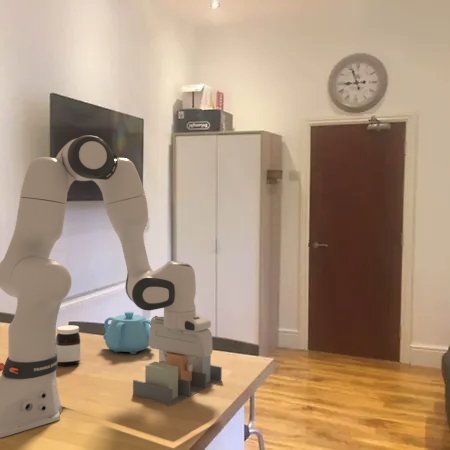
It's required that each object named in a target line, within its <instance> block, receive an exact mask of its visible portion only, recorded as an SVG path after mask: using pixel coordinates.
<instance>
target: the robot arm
mask: <svg viewBox="0 0 450 450" xmlns="http://www.w3.org/2000/svg"><path fill="white" fill-rule="evenodd" d="M87 181H88V182H89V181H92V182H94V183H95V184H96V185H97V186H98V188H99V189H100V192H101V194H102V199H103V203H104V207H105V210H106V213H107V216H108V219H109V221H110V224H111V226H112V228H113V230H114V232H115V234H116V235H117V237H118V238H119V241H120V244H121V247H122V252H123V255H124V260H125V264H126V265H125V266H126V269H127V271H126V272H127V274H126V281H125V288H124V289H125V294H126V295H127V297H128V298H129V300H131V302H132V303H134V305H135V306H136V307H138V308H139V309H141V310H143V311H154V310H160V309H163V316H159V315H154V316H153V317H152V318H151V319H150V321H151V326H150V332H149V342H148V343H149V346H148V347H150V349H154V350H158V351H159V350H163V355H164V357H165V359H166V361H165V364H167V353H170V352H173V353H178V354H183V355H188V359H189V361H188V363H187V364H185V371H192V364H193V363H194V361H195V359H196V357H197V358H202V359H204V358H207V357H209V356H210V355H211V356H212V354H213V335H212V332H211V330H210V328H211V325H212V322H211V320H210V319H209V318H207V317H205V316H203V315H201V314H200V313H198V312H196V304H195V297H196V295H197V294H196V293H197V292H196V291H197V290H196V289H197V286H196V285H197V283H196V274H195V269H194V268H193V267H192V265H190V264H188V263H185V262H182V261H176V260H170V261H167V262H166V263H165V264H164V265H163V266H161V267H159V268H157V269H155V270H153V269H152V268H151V265H150V263H149V258H148V254H147V249H146V246H145V245H146V244H145V241H144V232H145V230H146V226H147V223H148V221H149V208H148V201H147V197H146V196H147V195H146V193H145V190H144V189H145V188H144V186H143V183H142V180H141V178H140V174H139V172H138V170H137V168H136V166H135V164H134V162H133V161H131V160H130V159H128V158H125V157H118V156H117V155H116V153H114V151H113V150H111V148H110V147H109V145H108V144H107V142H105V141H104V140H103V139H102V138H100V137H98V136H96V135H95V136H94V135H87V134H86V135H81V136H79V137H77V138H76V137H75V138H74V139H71V140H70V141H68V142H67V143H66V144H65V145H64V146H62V147H61V148H60V149H59V151H58V152H57V153H56V154H55V155H54V157H50V156H42V157H37V158H34V159H32V160H31V162H30V163H29V164H28V167H27V170H26V172H25V175H24V178H23V181H22V186H21V191H20V197H19V203H18V208H17V209H18V210H17V215H16V222H15V226H14V227H15V228H14V230H13V234H12V237H11V239H10V242H9V245H8V247H7V249H6V253H5V254H4V257H3V259H2V260H1V261H0V289H1V290H2V291H3V292H4V293H5V294H7V295H8V296H11V297H14V298H15V299H16V298H17V299H16V300H17V303H16V310H15V313H14V315H13V316H14V317H13V319H12V321H11V322H10V323H9V325H8V330H7V331H8V334H7V335H8V339H7V340H8V341H7V343H8V351H7V352H8V356H7V357H6V361H5V363H3V362H0V372H1V375H0V439H1V438H4V437H8V436H11V435H15V434H17V433H20V432H21V433H22V432H25V431H27V430H31V429H34V428H38V427H41V426H44V425H47V424H49V423H53V422H58V421H59V420H60V419H61V413H62V411H63V406H62V402H61V399H60V393H59V388H58V380H57V370H58V365H57V354H56V352H55V346H56V336H57V321H58V315H59V313H60V312H59V311H60V310H61V309H60V308H61V305H62V302H63V301H64V300H65V298H66V297H67V296H68V294H69V293H70V291H71V288H72V278H71V273H70V272H69V270H68V269H67V268H66V267H65V266H63V265H62V264H60V262H58V261H56V260H53V259H50V255H51V252H52V251H53V248H54V246H55V244H56V243H57V241H58V240H59V239H60V238H61V236H62V235H63V229H64V223H65V215H66V208H67V202H68V201H67V199H68V192H69V190H70V187H71V185H72V184H73V183H80V182H87Z"/></svg>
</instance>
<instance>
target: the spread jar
mask: <svg viewBox="0 0 450 450" xmlns="http://www.w3.org/2000/svg"><path fill="white" fill-rule="evenodd" d="M79 332H80V327H79V326H78V325H73V324H72V325H61V326H58V327H56V346H55V353H56V354H57V366H59V367H72V366H76V365H78V364H79V363H80V362H81V336H80V333H79Z"/></svg>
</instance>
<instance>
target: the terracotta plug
mask: <svg viewBox="0 0 450 450" xmlns="http://www.w3.org/2000/svg"><path fill="white" fill-rule="evenodd" d="M188 361H189V359H188V355H183V354H178V353H173V352H170V353H167V364H168V365H173V366H177V367H178V378H179V379H183V380H188V381H192V371H185V364H187V363H188Z"/></svg>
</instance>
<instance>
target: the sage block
mask: <svg viewBox="0 0 450 450" xmlns="http://www.w3.org/2000/svg"><path fill="white" fill-rule="evenodd" d="M144 374H145V375H144V377H145V379H144V380H145V381H144V382H146V383H150V384H154V385H158V386H162V387H166V388H170V389H173V397H172V399H173V398H175V397H178V367H177V366H173V365H168V364H166V363H163V362H159V361H153V362H150V363H148V364H145V373H144Z"/></svg>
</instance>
